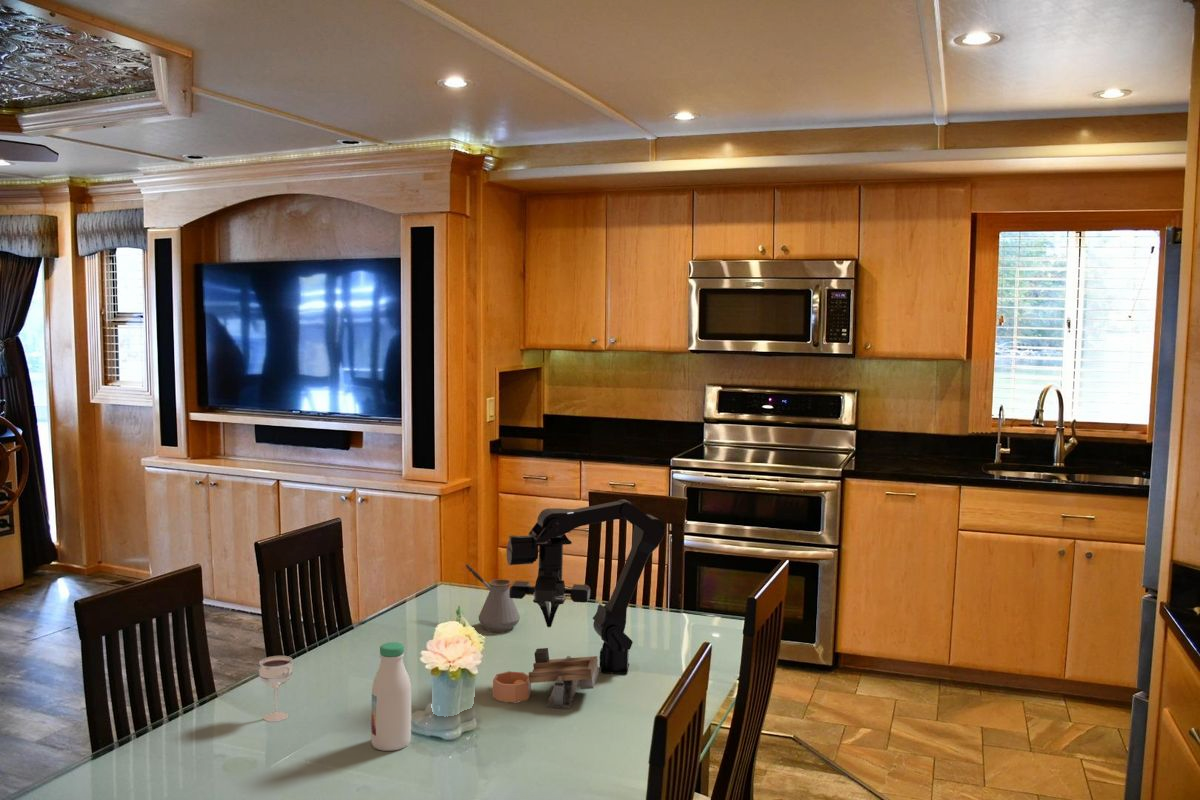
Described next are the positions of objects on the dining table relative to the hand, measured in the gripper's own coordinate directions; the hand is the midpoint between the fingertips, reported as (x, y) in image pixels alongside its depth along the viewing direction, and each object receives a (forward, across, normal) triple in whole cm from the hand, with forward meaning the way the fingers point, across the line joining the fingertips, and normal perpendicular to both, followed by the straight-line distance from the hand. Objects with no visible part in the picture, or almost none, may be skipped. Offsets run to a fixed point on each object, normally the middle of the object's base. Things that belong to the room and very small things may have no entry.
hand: (549, 626), depth 219 cm
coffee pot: (+12, -24, +36) cm, 45 cm away
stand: (+12, +5, -11) cm, 17 cm away
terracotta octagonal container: (+12, -6, -13) cm, 19 cm away
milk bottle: (+12, -24, -41) cm, 49 cm away
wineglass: (+12, -52, -33) cm, 63 cm away
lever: (+9, +6, -11) cm, 15 cm away
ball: (+10, -4, -13) cm, 17 cm away
